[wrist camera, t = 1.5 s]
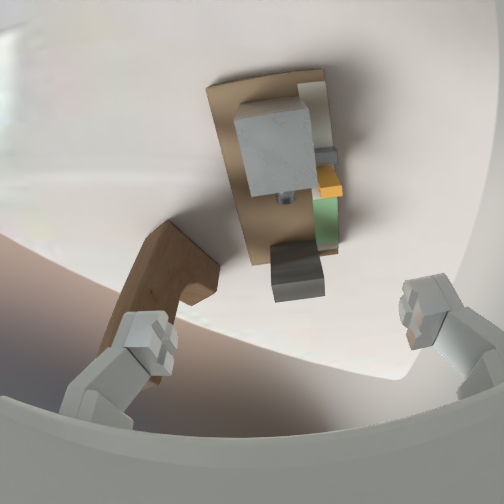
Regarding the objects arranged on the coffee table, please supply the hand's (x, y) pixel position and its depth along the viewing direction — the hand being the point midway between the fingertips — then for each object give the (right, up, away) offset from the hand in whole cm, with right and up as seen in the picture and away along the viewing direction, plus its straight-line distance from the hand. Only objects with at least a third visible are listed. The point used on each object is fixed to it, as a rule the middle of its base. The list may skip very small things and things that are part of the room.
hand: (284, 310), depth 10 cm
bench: (+2, +10, +19) cm, 22 cm away
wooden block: (-9, +2, +26) cm, 28 cm away
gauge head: (+2, +12, +15) cm, 20 cm away
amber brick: (+6, +9, +17) cm, 20 cm away
